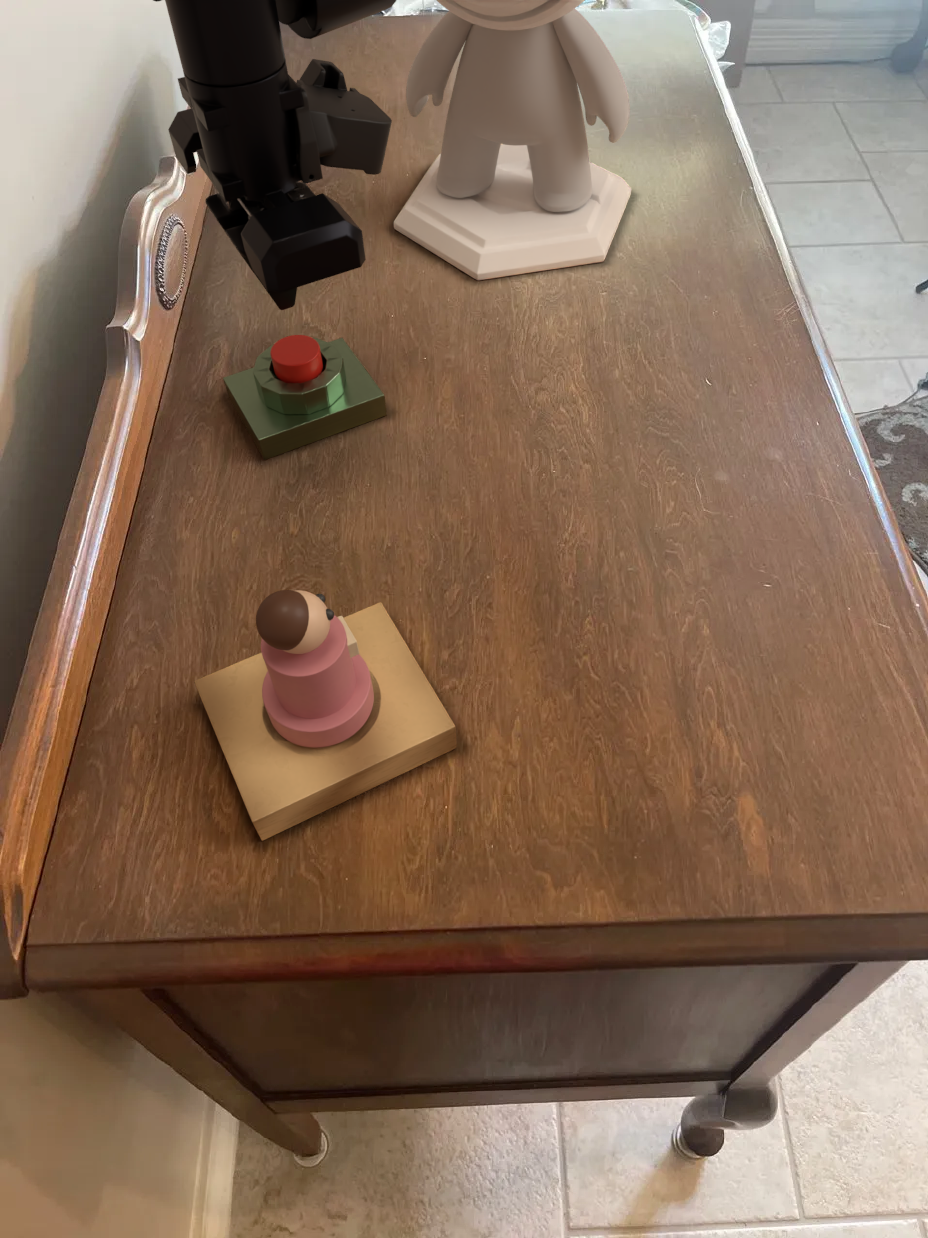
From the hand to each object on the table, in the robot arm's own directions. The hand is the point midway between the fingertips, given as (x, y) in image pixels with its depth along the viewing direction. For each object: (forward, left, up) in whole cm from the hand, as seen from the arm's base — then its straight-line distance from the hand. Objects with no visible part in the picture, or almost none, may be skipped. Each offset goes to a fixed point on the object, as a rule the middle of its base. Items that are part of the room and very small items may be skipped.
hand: (285, 305), depth 64 cm
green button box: (0, 0, -9) cm, 9 cm away
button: (0, 0, -5) cm, 5 cm away
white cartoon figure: (+27, +16, -9) cm, 33 cm away
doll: (-10, -27, -6) cm, 29 cm away
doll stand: (-10, -27, -9) cm, 30 cm away
